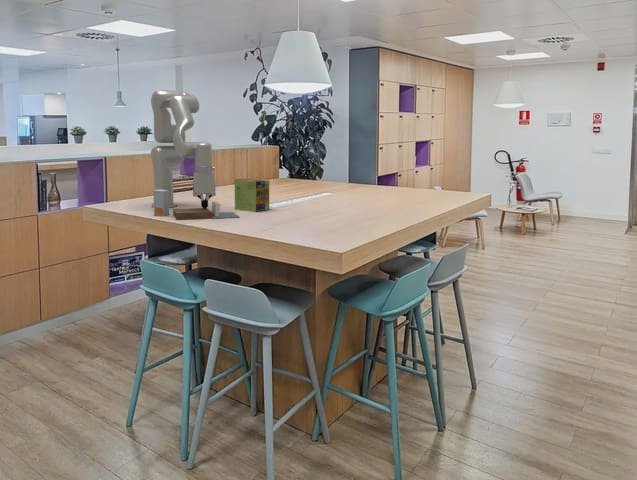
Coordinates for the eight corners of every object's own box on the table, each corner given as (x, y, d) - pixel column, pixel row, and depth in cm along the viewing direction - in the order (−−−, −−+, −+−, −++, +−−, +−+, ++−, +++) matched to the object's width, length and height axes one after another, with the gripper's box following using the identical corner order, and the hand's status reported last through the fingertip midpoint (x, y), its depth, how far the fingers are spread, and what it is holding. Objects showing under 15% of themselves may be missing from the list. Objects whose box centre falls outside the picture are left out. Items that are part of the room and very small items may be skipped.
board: (173, 215, 266) (172, 209, 265) (206, 213, 272) (206, 207, 271) (176, 219, 253) (176, 213, 253) (211, 218, 259) (211, 212, 258)
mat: (206, 213, 273) (206, 212, 273) (232, 212, 277) (232, 211, 277) (212, 218, 258) (212, 218, 258) (239, 217, 262) (239, 216, 262)
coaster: (212, 201, 269) (216, 201, 269) (211, 213, 270) (215, 213, 270) (215, 203, 260) (220, 203, 261) (214, 216, 261) (219, 216, 262)
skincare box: (153, 215, 265) (152, 190, 263) (159, 213, 269) (158, 189, 267) (164, 216, 263) (163, 190, 261) (169, 214, 267) (169, 190, 264)
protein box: (256, 212, 280) (255, 181, 277) (234, 209, 289) (234, 179, 286) (270, 210, 288) (270, 180, 285) (248, 207, 297) (248, 178, 294)
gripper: (218, 168, 266) (219, 207, 270) (186, 169, 261) (187, 208, 265) (221, 170, 259) (221, 209, 263) (188, 170, 254) (189, 210, 258)
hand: (204, 208), depth 264 cm, fingers closed
